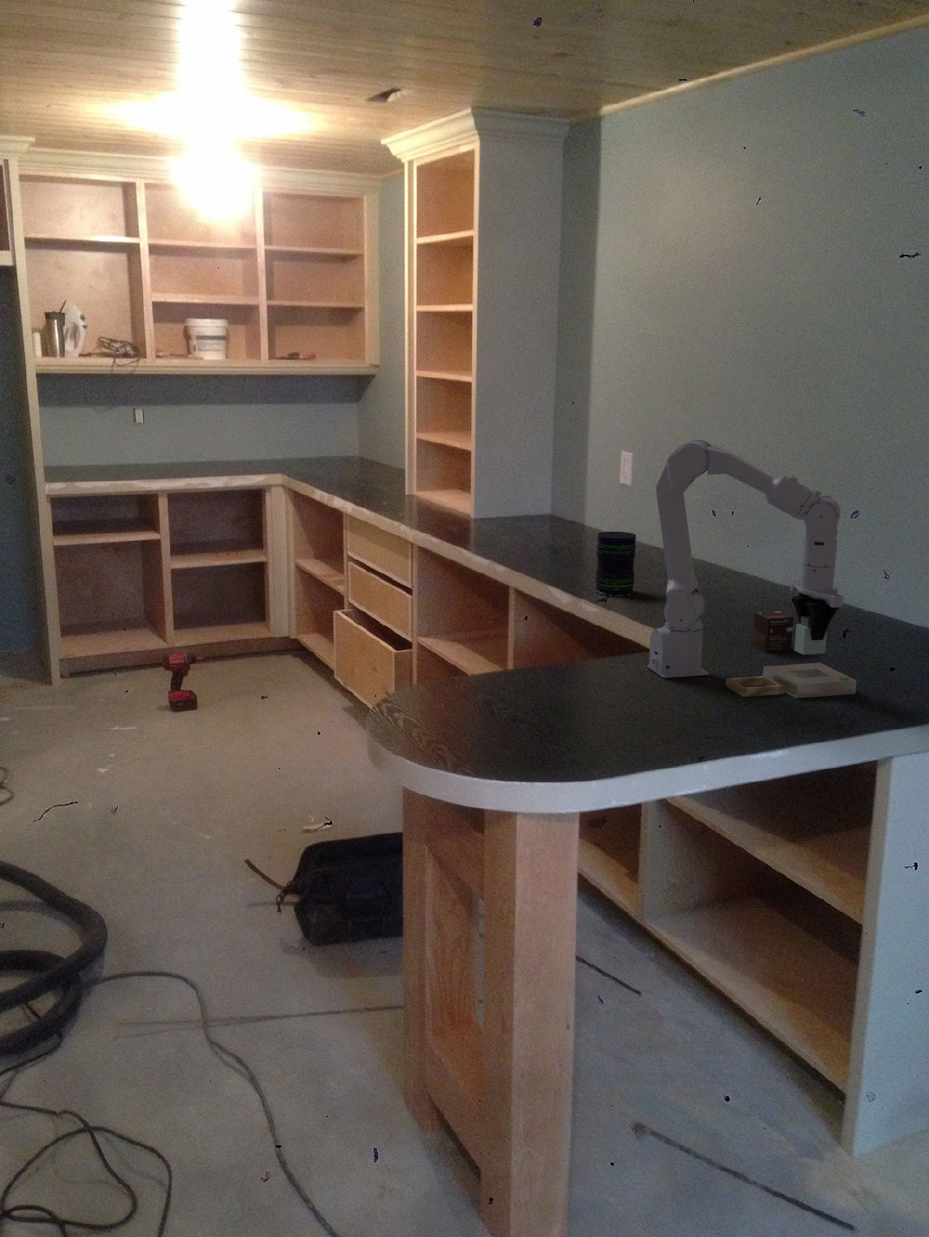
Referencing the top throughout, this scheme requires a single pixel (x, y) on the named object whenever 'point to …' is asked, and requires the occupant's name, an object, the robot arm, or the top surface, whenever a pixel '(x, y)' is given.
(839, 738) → the top surface
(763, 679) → the tan square frame
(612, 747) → the top surface
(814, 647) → the plug
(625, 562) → the storage jar
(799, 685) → the port
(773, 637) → the box
